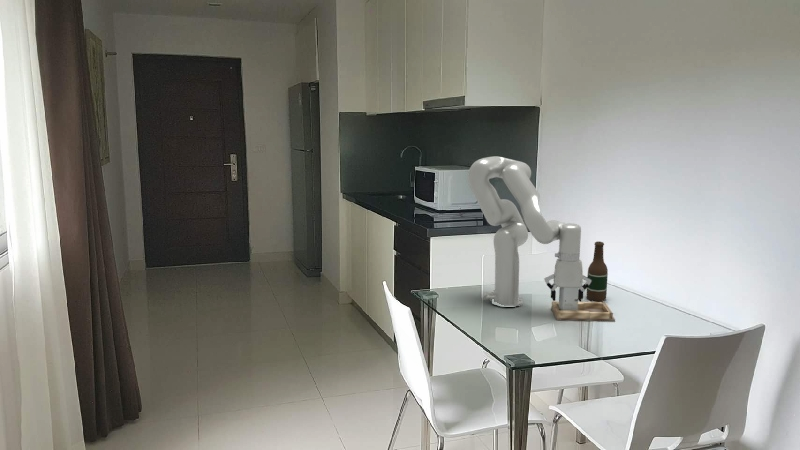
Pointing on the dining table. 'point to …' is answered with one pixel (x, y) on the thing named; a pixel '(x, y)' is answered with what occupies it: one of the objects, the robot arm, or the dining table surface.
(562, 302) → the skincare box
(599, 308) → the wooden tray
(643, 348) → the dining table surface
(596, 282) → the beer bottle
